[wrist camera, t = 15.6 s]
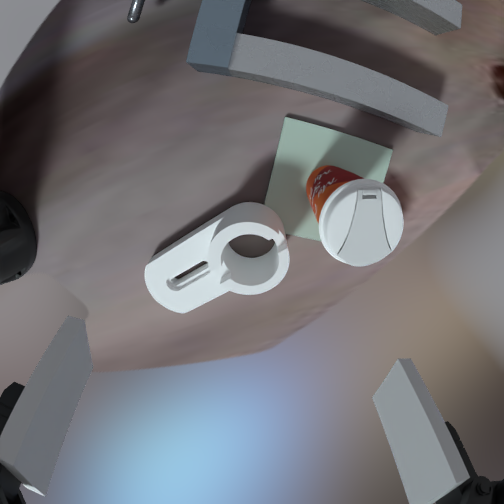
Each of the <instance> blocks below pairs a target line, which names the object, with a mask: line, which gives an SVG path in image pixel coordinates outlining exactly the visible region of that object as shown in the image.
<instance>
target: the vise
mask: <svg viewBox="0 0 504 504" xmlns="http://www.w3.org/2000/svg"><path fill="white" fill-rule="evenodd" d="M362 1H364V2H367V3H369V4H372V5H374V6H377V7H379V8H381V9H384V10H386V11H388V12H391V13H393V14H395V15H397V16H399V17H401V18H403V19H406V20H408V21H410V22H412V23H414V24H416V25H417V26H419V27H421V28H423V29H425V30H427V31H429V32H431V33H432V34H434V35H439V34H442V33H446V32H449V31H453V30H457V29H460V28H461V17H462V4H460V3H459V2H457V1H456V0H362ZM144 2H145V0H133V1H132V4H131V7H130V10H129V13H128V17H127V20H128V22H130V23H135V22H137V21H138V20H139V18H140V15H141V11H142V8H143V5H144ZM250 3H251V0H203V1H202V4H201V7H200V11H199V14H198V18H197V21H196V25H195V29H194V32H193V36H192V40H191V44H190V48H189V52H188V56H187V60H186V62H187V63H188V64H189V65H190V66H192V67H193V68H194V69H196V70H197V71H199V72H206V73H213V74H220V75H226V76H232V77H237V78H243V79H248V80H253V81H258V82H263V83H267V84H272V85H276V86H281V87H285V88H289V89H293V90H297V91H300V92H304V93H308V94H311V95H315V96H318V97H322V98H325V99H329V100H332V101H335V102H338V103H341V104H344V105H348V106H351V107H353V108H356V109H359V110H362V111H365V112H368V113H371V114H373V115H376V116H379V117H381V118H384V119H386V120H389V121H391V122H394V123H396V124H399V125H401V126H404V127H406V128H408V129H411V130H413V131H415V132H419V133H424V134H429V135H434V136H438V137H441V136H442V132H443V127H444V123H445V119H446V115H447V110H448V105H446V104H444V103H443V102H441V101H439V100H437V99H435V98H433V97H431V96H429V95H427V94H425V93H423V92H421V91H419V90H417V89H415V88H413V87H411V86H409V85H406V84H404V83H402V82H400V81H398V80H395V79H393V78H391V77H388V76H386V75H383V74H381V73H379V72H376V71H374V70H371V69H368V68H366V67H363V66H360V65H358V64H355V63H352V62H349V61H346V60H343V59H341V58H337V57H334V56H331V55H328V54H325V53H322V52H318V51H315V50H311V49H308V48H304V47H300V46H296V45H293V44H288V43H284V42H280V41H276V40H271V39H266V38H262V37H256V36H251V35H246V34H242V33H243V29H244V26H245V22H246V18H247V14H248V11H249V7H250Z"/></svg>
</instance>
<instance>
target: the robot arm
mask: <svg viewBox="0 0 504 504" xmlns="http://www.w3.org/2000/svg"><path fill="white" fill-rule="evenodd" d="M35 256H36V239H35V234H34V230H33V227H32V224H31V221H30V219H29V217H28V215H27V213H26V211H25V210H24V208H23V207H22V206H21V204H20V203H19V202H18V201H17V200H16V199H15V198H14V197H13V196H11V195H10V194H8V193H5V192H2V191H0V285H2V284H4V283H8V282H10V281H14V280H16V279H19V278H20V277H22V276H23V275H24V274H25V273H26V272H27V271H28V270H29V269H30V268H31V267H32V265H33V263H34V260H35ZM92 369H93V363H92V359H91V354H90V348H89V343H88V337H87V332H86V325H85V320H83V319H79V318H75V317H71V316H68V317H67V318H66V320H65V321H64V323H63V324H62V326H61V327H60V329H59V330H58V332H57V334H56V335H55V337H54V338H53V340H52V342H51V343H50V345H49V346H48V348H47V350H46V351H45V353H44V355H43V356H42V358H41V360H40V361H39V363H38V365H37V366H36V368H35V370H34V372H33V374H32V375H31V377H30V379H29V381H28V382H27V384H26V386H23V385H21V384H18V383H16V382H13V383H12V384H11V385H10V386H9V387H7V388H6V389H5V390H4V391H3V393H2V395H1V397H0V504H26V502H25V500H24V498H23V495H22V493H21V491H20V489H19V487H20V484H21V483H22V484H23V485H24V486H25V487H26V488H28V489H30V490H32V491H34V492H36V493H38V494H40V495H43V496H46V494H47V491H48V487H49V484H50V481H51V477H52V474H53V471H54V468H55V465H56V462H57V459H58V456H59V453H60V450H61V447H62V444H63V442H64V439H65V436H66V433H67V431H68V428H69V425H70V422H71V420H72V417H73V415H74V412H75V410H76V407H77V405H78V402H79V400H80V397H81V395H82V392H83V390H84V388H85V385H86V383H87V380H88V378H89V376H90V374H91V371H92ZM372 398H373V401H374V403H375V406H376V409H377V412H378V414H379V417H380V419H381V422H382V425H383V428H384V430H385V433H386V436H387V439H388V441H389V444H390V447H391V450H392V453H393V455H394V458H395V461H396V464H397V467H398V470H399V473H400V476H401V479H402V482H403V485H404V488H405V491H406V495H407V498H408V501H409V504H432V503H434V502H436V504H504V479H503V480H502V481H492V482H490V481H489V479H487V478H486V477H484V476H479V477H478V475H477V474H476V472H475V470H474V468H473V466H472V463H471V461H470V459H469V457H468V455H467V452H466V450H465V448H463V444H462V442H461V441H460V438H459V436H458V434H457V432H456V430H455V428H454V427H453V426H452V425H451V424H450V423H449V422H444V420H443V418H442V416H441V414H440V412H439V410H438V408H437V406H436V404H435V402H434V400H433V399H432V397H431V395H430V393H429V391H428V389H427V387H426V385H425V383H424V382H423V380H422V378H421V376H420V374H419V372H418V371H417V369H416V367H415V365H414V364H413V362H412V360H411V359H398V360H397V361H396V363H395V364H394V366H393V367H392V369H391V370H390V372H389V374H388V375H387V377H386V378H385V380H384V381H383V383H382V384H381V386H380V387H379V388H378V390H377V391H376V393H375V394H374V396H373V397H372Z"/></svg>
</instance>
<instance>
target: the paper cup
mask: <svg viewBox="0 0 504 504" xmlns="http://www.w3.org/2000/svg"><path fill="white" fill-rule="evenodd" d="M306 193H307V197H308V199H309V202H310V205H311V207H312V210H313V212H314V214H315V217H316V219H317V222H318V224H319V234H320V239H321V241H322V243H323V245H324V247H325V249H326V250H327V251H328V252H329V253H330V255H332V256H333V257H334V258H335V259H337V260H339V261H341V262H344V263H347V264H350V265H352V266H367V265H370V264H372V263H376V262H378V261H380V260H381V259H383V258H384V257H386V256H387V255H388V254H390V253H391V252H392V251H393V250H394V249H395V247H396V246H397V244H398V242H399V240H400V238H401V235H402V231H403V222H404V221H403V214H402V209H401V205H400V202H399V200H398V198H397V196H396V195H395V193H394V192H393V191H392V190H391V189H390V188H389V187H388V186H386V185H385V184H383V183H381V182H379V181H376V180H372V179H365V178H363V177H360V176H358V175H356V174H354V173H352V172H349V171H347V170H344V169H342V168H339V167H336V166H331V165H326V166H321V167H319V168H317V169H316V170H314V171H313V172H312V173H311V174H310V176H309V178H308V180H307V183H306Z"/></svg>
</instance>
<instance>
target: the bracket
mask: <svg viewBox="0 0 504 504" xmlns="http://www.w3.org/2000/svg"><path fill="white" fill-rule="evenodd" d="M245 234H254V235H259V236H262V237H264V238H266V239H267V240H271V239H273V240H274V241H275V244H274V246H273V247H272V249H271V250H270V251H269V252H268V253H266V254H264V255H263V256H260V257H256V258H248V257H243V256H241V255H239V254H237V253H236V252H235V251H233V250H232V248H231V247H230V245H229V243H228V242H229V241H231V240H232V239H234V238H235V237H238V236H240V235H245ZM201 261H207V262H208V263H206V264H204V265H203V266H201V267H199V268H197V269H196V270H194V271H192V272H190V273H189V274H187V275H185V276H184V277H182V278H180V279H176V278H175V277H176V276H177V275H179V274H181V273H183V272H184V271H186V270H188V269H189V268H191V267H193V266H195V265H196V264H198V263H200V262H201ZM288 266H289V251H288V246H287V240H286V235H285V230H284V226H283V223H282V221H281V219H280V217H279V216H278V215H277V214H276V213H275V212H274V211H273V210H272V209H271V208H269V207H267V206H265V205H263V204H260V203H255V202H244V203H240V204H237V205H234V206H232V207H231V208H229V209H227V210H226V211H224V212H222V213H221V214H219V215H218V216H216V217H214V218H213V219H211V220H209V221H208V222H206V223H205V224H203V225H201V226H200V227H198V228H196V229H195V230H193V231H192V232H190V233H189V234H187V235H185V236H184V237H182V238H181V239H179V240H177V241H176V242H174V243H173V244H171V245H170V246H168V247H167V248H165V249H163V250H162V251H160V252H159V253H157V254H156V255H154V256H153V257H152V258H151V260H150V261H149V263H148V264H147V266H146V268H145V282H146V286H147V288H148V290H149V292H150V293H151V295H152V296H153V298H154V299H155V300H156V301H157V302H158V303H160V304H161V305H162V306H164V307H166V308H167V309H169V310H172V311H175V312H178V313H187V312H189V311H191V310H193V309H195V308H197V307H199V306H200V305H202V304H204V303H206V302H208V301H210V300H212V299H214V298H216V297H218V296H220V295H222V294H224V293H226V292H228V291H232V292H235V293H238V294H245V295H253V294H260V293H263V292H266V291H268V290H270V289H272V288H273V287H275V286H276V285H277V284H278V283H279V282H280V281H281V280H282V279H283V278H284V276H285V274H286V272H287V270H288Z"/></svg>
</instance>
